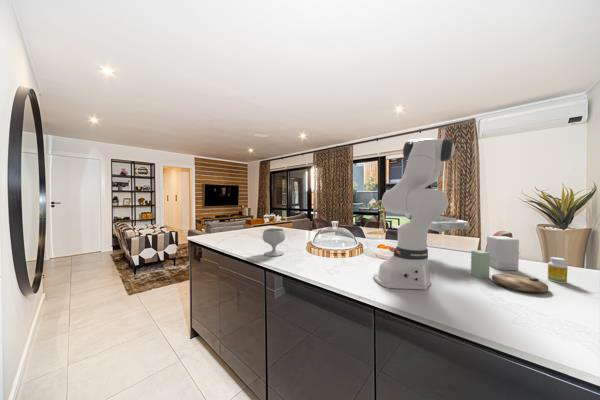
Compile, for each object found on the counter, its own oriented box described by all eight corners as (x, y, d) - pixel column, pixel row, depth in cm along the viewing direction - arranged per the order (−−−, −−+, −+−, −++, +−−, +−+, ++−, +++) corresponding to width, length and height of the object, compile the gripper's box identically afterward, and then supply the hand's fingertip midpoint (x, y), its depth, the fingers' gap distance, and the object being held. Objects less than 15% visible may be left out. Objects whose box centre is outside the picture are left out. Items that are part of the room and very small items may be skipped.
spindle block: (479, 278, 97) (480, 253, 97) (470, 274, 102) (471, 250, 101) (489, 277, 98) (489, 252, 97) (480, 274, 102) (480, 250, 102)
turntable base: (520, 293, 82) (520, 291, 82) (488, 280, 95) (488, 278, 95) (552, 292, 83) (552, 290, 83) (516, 278, 96) (516, 277, 96)
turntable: (521, 293, 80) (521, 288, 80) (481, 276, 96) (481, 272, 96) (561, 291, 82) (561, 286, 82) (516, 275, 98) (516, 271, 98)
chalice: (258, 253, 139) (257, 229, 138) (276, 250, 148) (276, 227, 148) (271, 258, 129) (271, 232, 128) (290, 254, 138) (289, 229, 138)
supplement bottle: (546, 277, 97) (547, 255, 97) (565, 280, 94) (566, 258, 94) (548, 281, 93) (549, 258, 93) (568, 284, 90) (569, 261, 90)
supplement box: (519, 271, 106) (520, 239, 105) (497, 269, 108) (498, 238, 107) (505, 265, 115) (506, 236, 114) (485, 264, 116) (486, 235, 116)
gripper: (422, 218, 124) (439, 221, 110) (456, 217, 126) (478, 220, 112) (421, 229, 124) (439, 234, 110) (456, 228, 126) (478, 233, 112)
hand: (459, 227), depth 111 cm, fingers open, 8 cm apart
